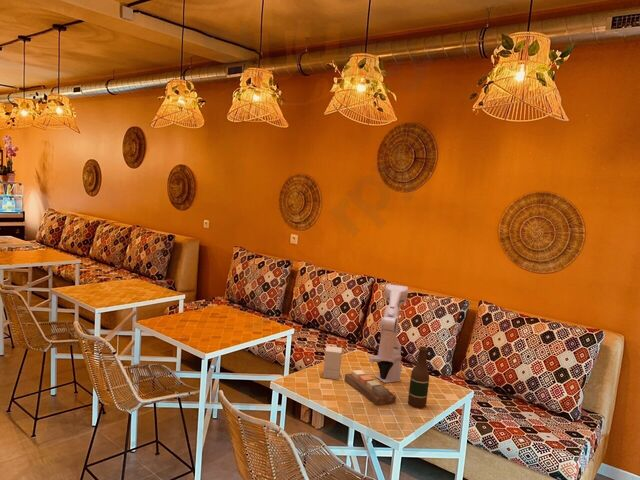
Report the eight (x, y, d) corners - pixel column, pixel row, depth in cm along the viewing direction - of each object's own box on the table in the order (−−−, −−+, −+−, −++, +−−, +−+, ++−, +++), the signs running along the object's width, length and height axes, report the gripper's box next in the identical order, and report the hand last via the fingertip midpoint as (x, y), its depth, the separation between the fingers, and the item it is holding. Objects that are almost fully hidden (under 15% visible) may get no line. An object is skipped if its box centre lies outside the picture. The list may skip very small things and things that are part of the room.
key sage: (374, 385, 206) (375, 380, 206) (380, 390, 202) (381, 384, 202) (366, 386, 204) (366, 381, 204) (371, 391, 200) (372, 385, 200)
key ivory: (360, 375, 216) (360, 370, 216) (365, 379, 212) (365, 373, 212) (351, 376, 214) (352, 370, 214) (356, 379, 210) (357, 374, 210)
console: (361, 378, 219) (362, 372, 219) (395, 403, 196) (396, 396, 196) (344, 380, 215) (345, 374, 215) (376, 406, 192) (377, 398, 192)
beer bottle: (422, 410, 192) (429, 352, 190) (404, 404, 196) (411, 347, 194) (428, 404, 199) (436, 347, 196) (411, 398, 203) (417, 343, 200)
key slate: (382, 391, 200) (383, 386, 200) (388, 396, 197) (389, 390, 196) (373, 392, 198) (374, 387, 198) (379, 397, 195) (380, 391, 194)
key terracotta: (367, 380, 211) (367, 375, 211) (372, 384, 207) (373, 379, 207) (358, 381, 209) (359, 375, 209) (364, 385, 205) (364, 379, 205)
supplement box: (339, 374, 222) (342, 347, 221) (338, 380, 215) (341, 352, 214) (323, 372, 223) (326, 345, 222) (322, 378, 216) (325, 350, 214)
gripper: (377, 350, 189) (373, 383, 190) (407, 348, 195) (403, 380, 197) (367, 344, 195) (364, 377, 196) (397, 342, 201) (393, 374, 203)
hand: (383, 378), depth 197 cm, fingers closed
